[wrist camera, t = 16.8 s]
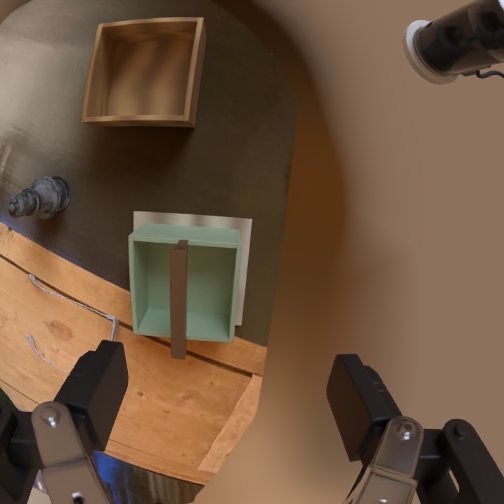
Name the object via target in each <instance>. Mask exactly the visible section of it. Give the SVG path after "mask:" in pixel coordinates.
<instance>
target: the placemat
mask: <svg viewBox="0 0 504 504" xmlns="http://www.w3.org/2000/svg"><path fill="white" fill-rule="evenodd" d="M144 223H153V224H168V225H183V226H197V227H211V228H224V229H237V230H240V233H241V239H242V244H243V245H242V255H241V266H240V277H239V287H238V298H237V309H236V320H235V325H239V326H241V325H242V315H243V305H244V295H245V285H246V275H247V266H248V256H249V246H250V236H251V226H252V219H245V218H233V217H220V216H206V215H192V214H177V213H161V212H143V211H134V231H135V230H136V229H137V228H139V227H140V226H141V225H142V224H144Z"/></svg>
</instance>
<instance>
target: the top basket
mask: <svg viewBox="0 0 504 504" xmlns="http://www.w3.org/2000/svg"><path fill="white" fill-rule="evenodd" d="M242 245H243V244H242V239H241V233H240V230H237V229H224V228H211V227H197V226H183V225H168V224H153V223H144V224H142V225H141V226H140V227H139V228H137V229H136V230H135V231H134V232H133V233H131V234H130V235H129V274H130V293H131V308H132V321H133V332H134V334H139V335H147V336H156V337H166V338H171V358H173V359H183V360H185V357H186V339H187V340H199V341H213V342H231V343H233V342H234V331H235V320H236V309H237V298H238V287H239V277H240V266H241V255H242Z"/></svg>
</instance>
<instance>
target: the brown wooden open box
mask: <svg viewBox="0 0 504 504" xmlns="http://www.w3.org/2000/svg"><path fill="white" fill-rule="evenodd" d="M206 41H207V37H206V31H205V25H204V19H203V18H154V19H140V20H129V21H120V22H112V23H105V24H99V25H98V29H97V33H96V37H95V42H94V46H93V51H92V55H91V60H90V65H89V71H88V76H87V82H86V88H85V95H84V102H83V110H82V118H81V123H86V124H91V125H96V126H100V127H122V126H164V127H193V128H195V124H196V115H197V107H198V98H199V90H200V82H201V75H202V68H203V61H204V54H205V47H206Z"/></svg>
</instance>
